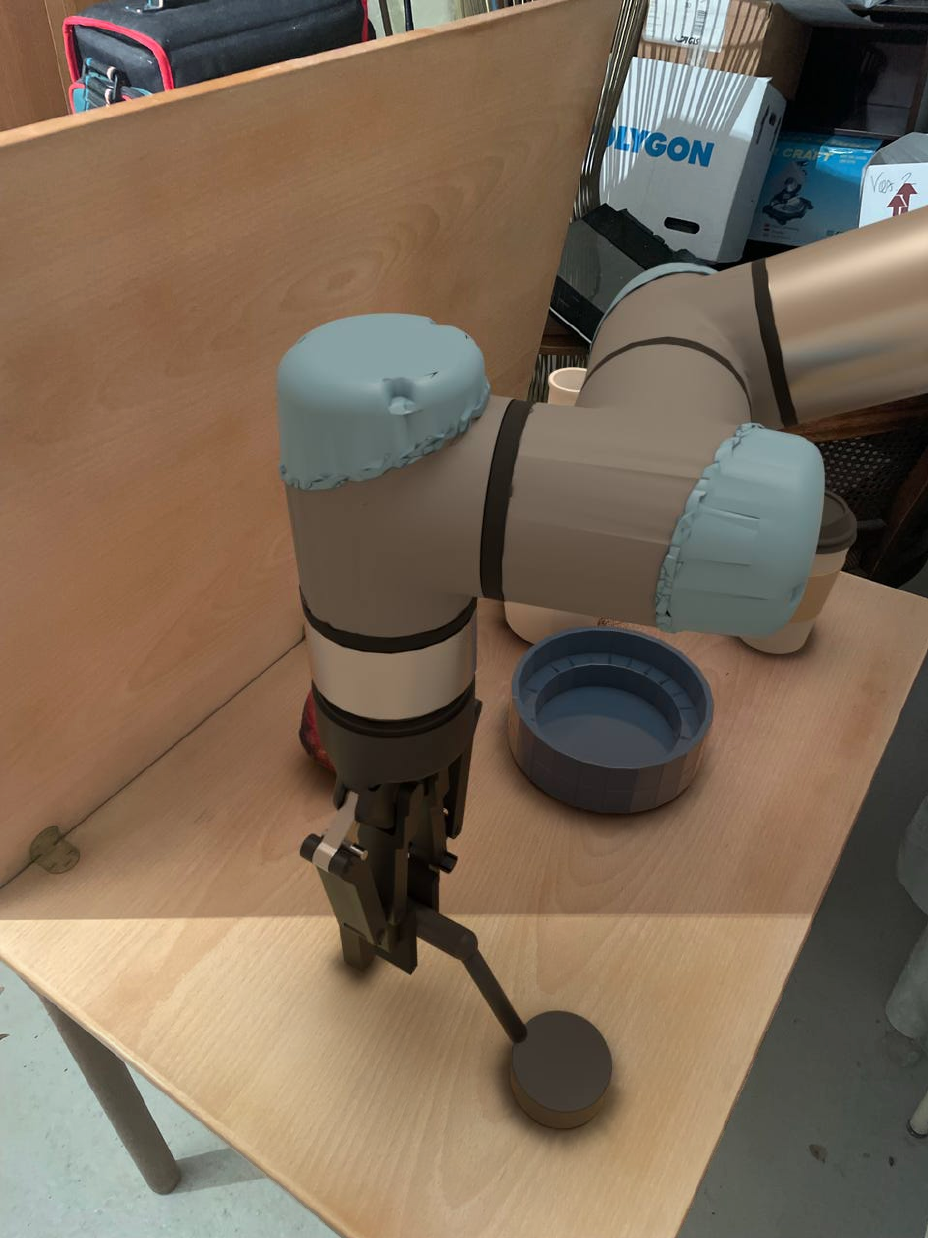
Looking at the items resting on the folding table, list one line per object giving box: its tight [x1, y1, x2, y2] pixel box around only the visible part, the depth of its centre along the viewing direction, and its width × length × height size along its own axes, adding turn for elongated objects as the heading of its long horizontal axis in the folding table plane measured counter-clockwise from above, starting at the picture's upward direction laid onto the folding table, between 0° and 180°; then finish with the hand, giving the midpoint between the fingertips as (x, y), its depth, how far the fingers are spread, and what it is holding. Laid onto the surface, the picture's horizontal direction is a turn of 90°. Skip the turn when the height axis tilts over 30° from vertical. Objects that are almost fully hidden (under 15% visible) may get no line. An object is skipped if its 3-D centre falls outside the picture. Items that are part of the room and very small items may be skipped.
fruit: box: [298, 688, 337, 774], centre depth 72 cm, size 8×8×8 cm
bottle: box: [503, 367, 601, 645], centre depth 81 cm, size 11×11×25 cm
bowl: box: [507, 625, 715, 814], centre depth 75 cm, size 16×16×6 cm
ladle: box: [338, 895, 613, 1129], centre depth 55 cm, size 19×6×10 cm, turn 59°
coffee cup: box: [739, 488, 858, 655], centre depth 83 cm, size 9×9×15 cm
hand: (407, 943), depth 56 cm, fingers closed on ladle, 2 cm apart
